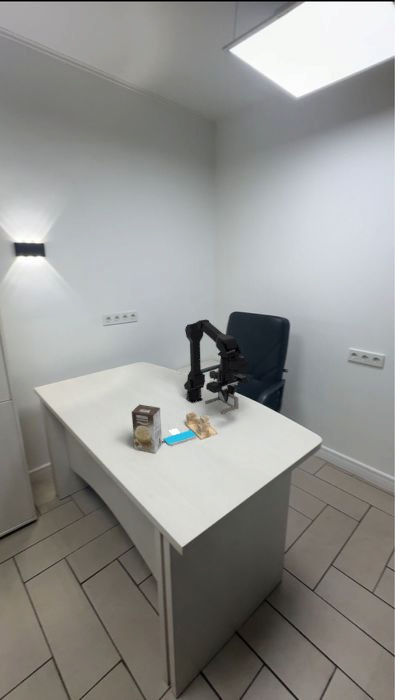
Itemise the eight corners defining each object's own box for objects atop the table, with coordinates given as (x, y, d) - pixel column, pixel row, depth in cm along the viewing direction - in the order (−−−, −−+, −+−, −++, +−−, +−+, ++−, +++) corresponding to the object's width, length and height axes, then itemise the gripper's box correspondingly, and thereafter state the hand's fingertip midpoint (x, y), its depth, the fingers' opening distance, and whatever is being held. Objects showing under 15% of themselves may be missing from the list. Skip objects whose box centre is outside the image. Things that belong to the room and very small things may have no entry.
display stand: (200, 419, 138) (200, 409, 137) (217, 434, 126) (217, 423, 125) (184, 424, 134) (184, 414, 133) (200, 439, 123) (200, 428, 121)
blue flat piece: (193, 424, 135) (193, 421, 135) (207, 437, 125) (206, 433, 125) (150, 437, 126) (149, 434, 126) (161, 452, 116) (160, 448, 116)
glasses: (220, 398, 139) (220, 388, 138) (238, 408, 129) (238, 397, 128) (205, 403, 135) (204, 393, 133) (222, 414, 125) (221, 402, 124)
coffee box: (133, 449, 117) (130, 411, 113) (142, 440, 123) (138, 404, 119) (155, 454, 114) (152, 414, 110) (163, 444, 120) (160, 407, 116)
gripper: (232, 358, 141) (232, 390, 145) (198, 366, 131) (199, 400, 135) (249, 364, 132) (248, 398, 136) (213, 374, 122) (214, 410, 126)
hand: (227, 401), depth 134 cm, fingers closed on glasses
